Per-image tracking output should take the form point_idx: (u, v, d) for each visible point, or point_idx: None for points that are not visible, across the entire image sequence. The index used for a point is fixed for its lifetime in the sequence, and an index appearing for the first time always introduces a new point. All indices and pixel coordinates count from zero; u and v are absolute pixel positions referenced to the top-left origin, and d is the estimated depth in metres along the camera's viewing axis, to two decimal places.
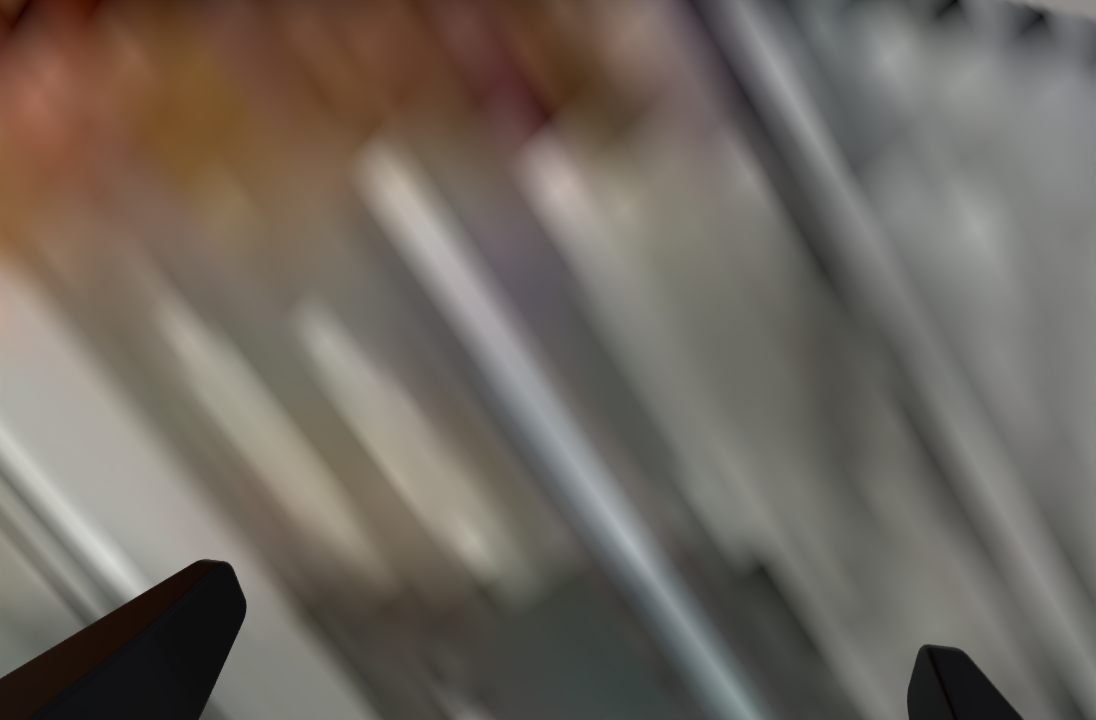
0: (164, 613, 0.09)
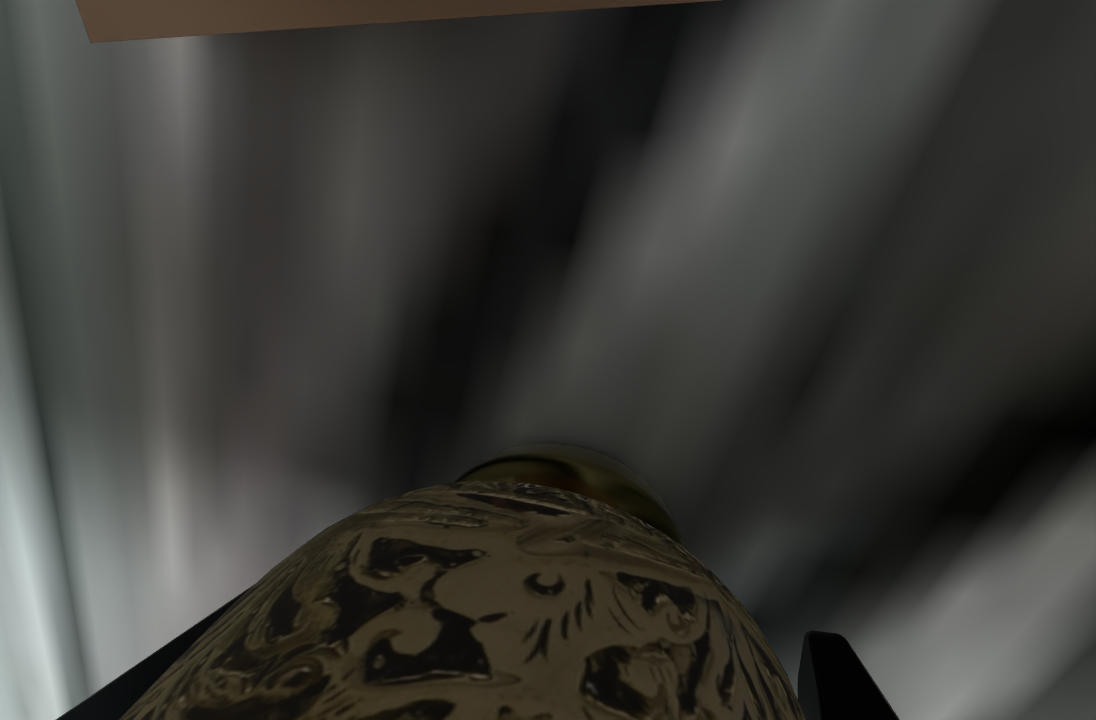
0: None
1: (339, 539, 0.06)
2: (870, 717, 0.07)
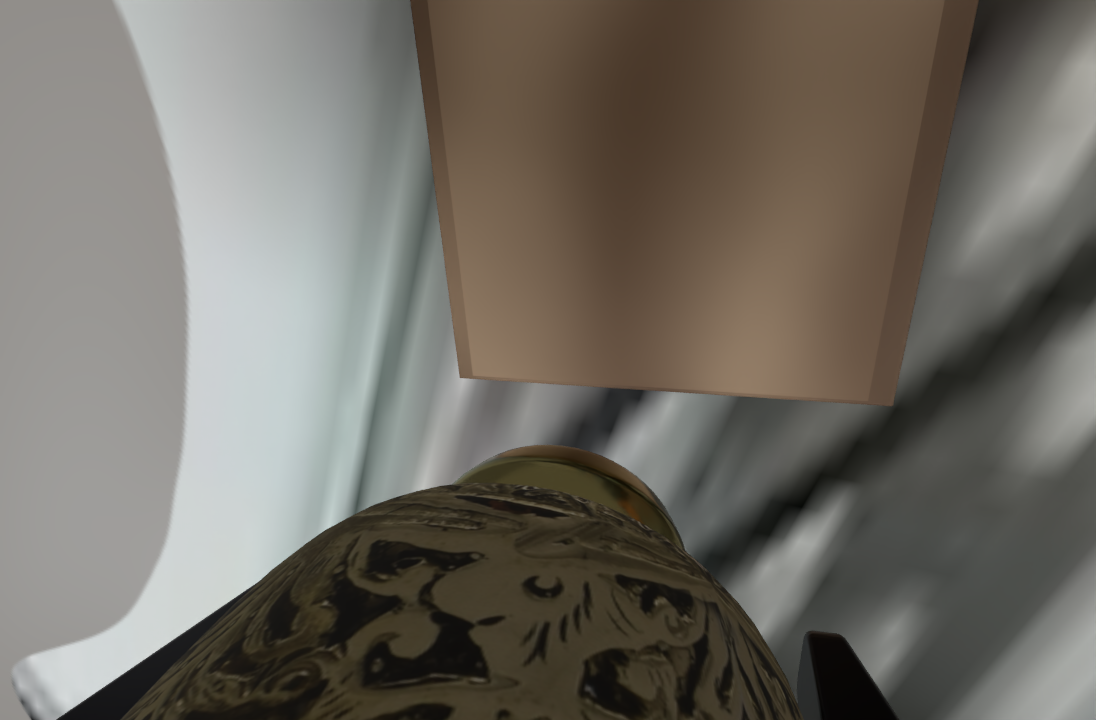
0: None
1: (337, 541, 0.06)
2: (871, 717, 0.07)
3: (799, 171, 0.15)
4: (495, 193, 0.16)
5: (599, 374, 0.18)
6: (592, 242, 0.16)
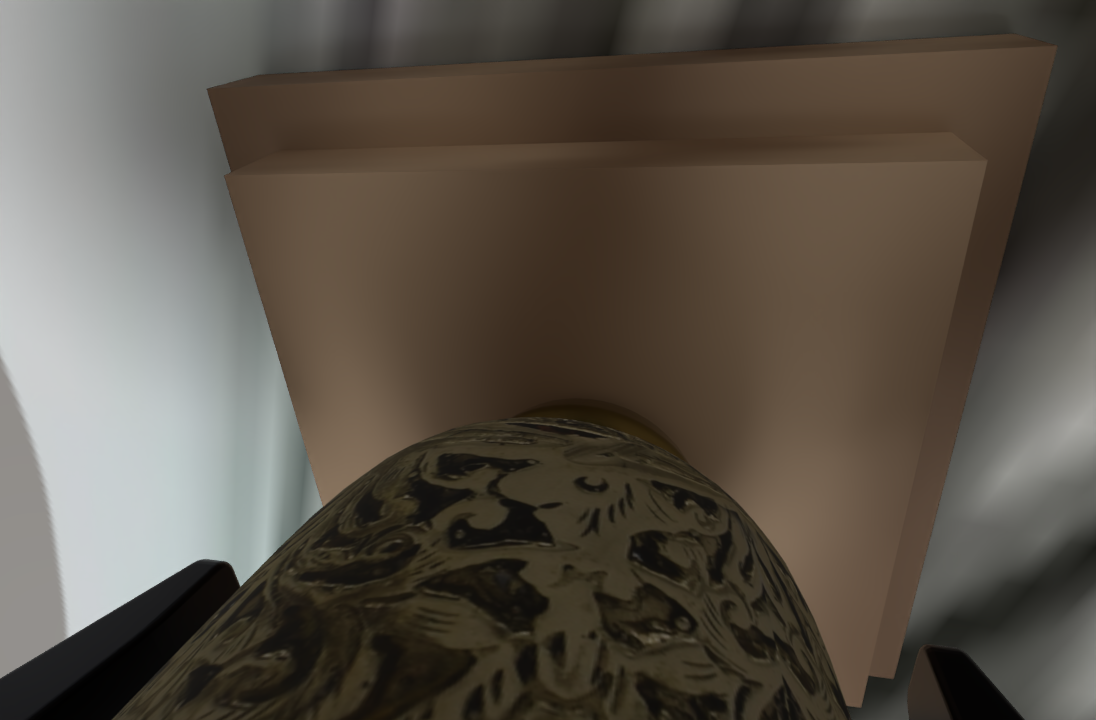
0: (164, 613, 0.09)
1: (406, 458, 0.07)
2: None
3: (760, 460, 0.11)
4: (363, 456, 0.12)
5: None
6: None
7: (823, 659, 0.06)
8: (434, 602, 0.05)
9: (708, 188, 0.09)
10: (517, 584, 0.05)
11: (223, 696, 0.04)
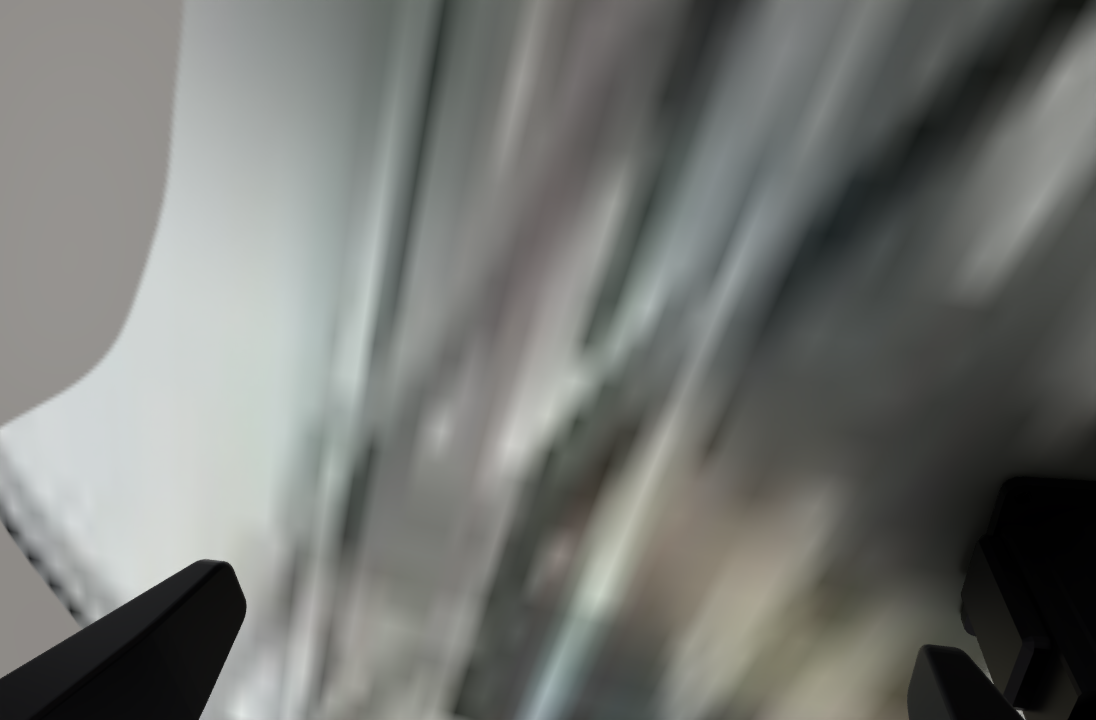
0: (164, 613, 0.09)
1: None
2: None
3: None
4: None
5: None
6: None
7: None
8: None
9: None
10: None
11: None
